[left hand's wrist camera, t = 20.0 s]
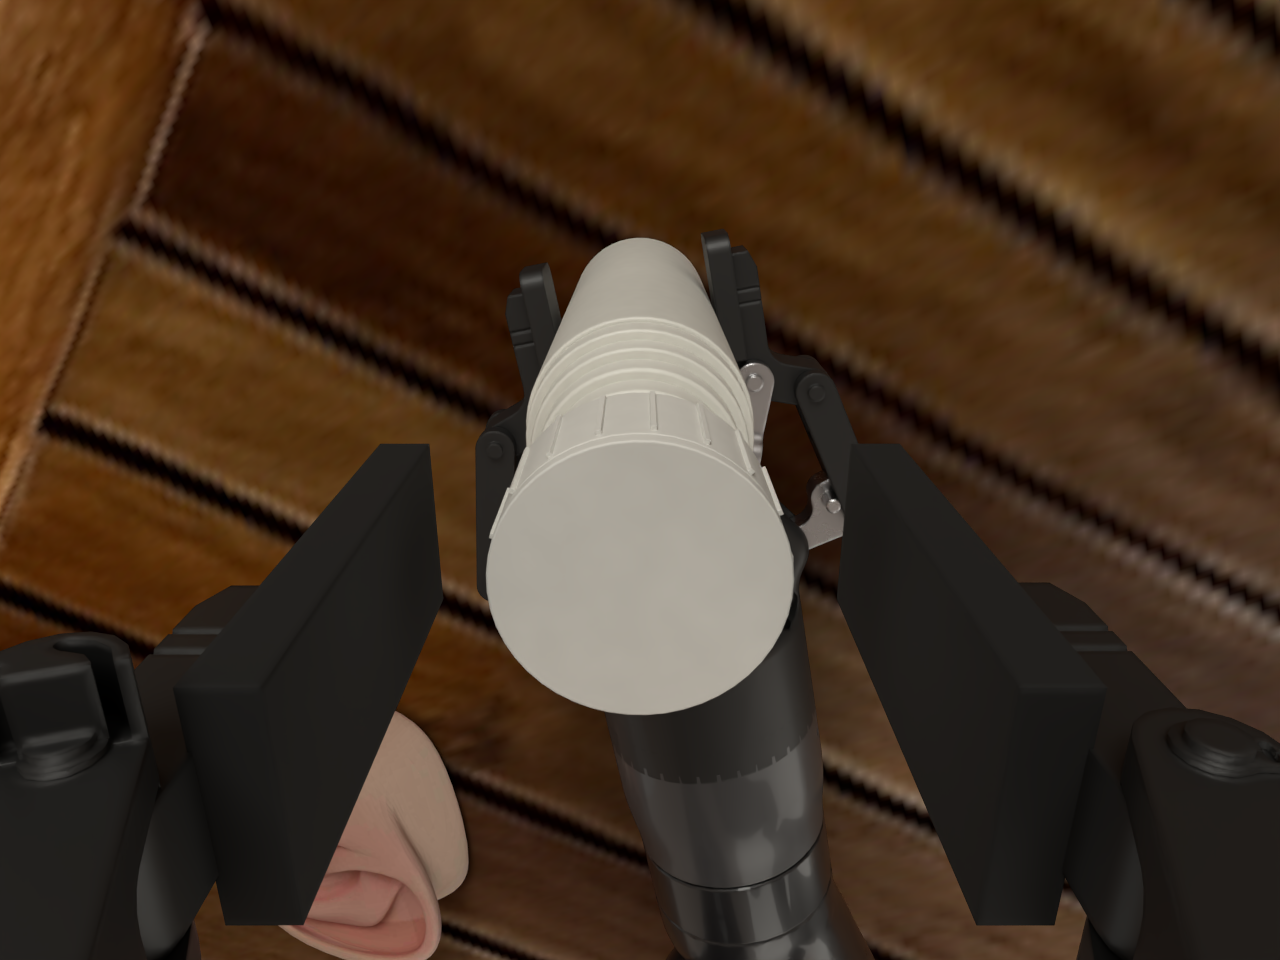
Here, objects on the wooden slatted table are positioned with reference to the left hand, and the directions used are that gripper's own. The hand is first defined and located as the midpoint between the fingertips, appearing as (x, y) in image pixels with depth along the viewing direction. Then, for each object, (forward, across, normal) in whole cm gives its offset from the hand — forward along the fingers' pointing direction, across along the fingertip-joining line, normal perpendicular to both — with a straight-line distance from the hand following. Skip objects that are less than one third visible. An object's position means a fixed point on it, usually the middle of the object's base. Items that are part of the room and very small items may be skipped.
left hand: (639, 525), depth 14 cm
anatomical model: (+20, +14, +23) cm, 34 cm away
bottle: (+20, 0, 0) cm, 20 cm away
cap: (-2, 0, 0) cm, 2 cm away
